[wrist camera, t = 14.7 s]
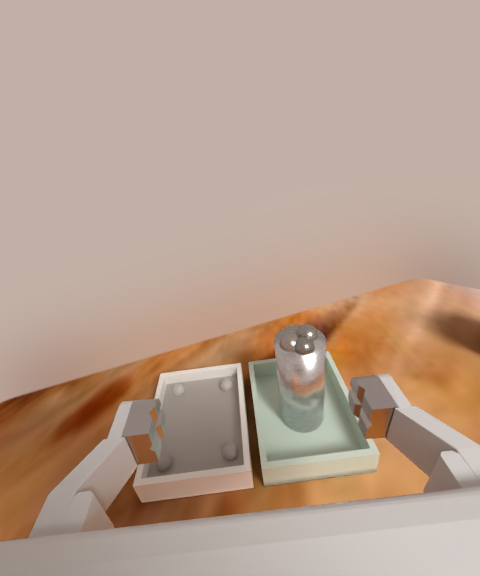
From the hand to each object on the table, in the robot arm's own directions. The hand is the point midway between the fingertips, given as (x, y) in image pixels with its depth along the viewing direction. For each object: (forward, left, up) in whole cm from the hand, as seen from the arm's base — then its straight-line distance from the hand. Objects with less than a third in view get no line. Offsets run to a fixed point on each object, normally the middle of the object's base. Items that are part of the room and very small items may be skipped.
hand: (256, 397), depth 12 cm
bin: (+5, +13, -20) cm, 25 cm away
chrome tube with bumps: (+5, +13, -20) cm, 24 cm away
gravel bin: (-7, +13, -20) cm, 25 cm away
